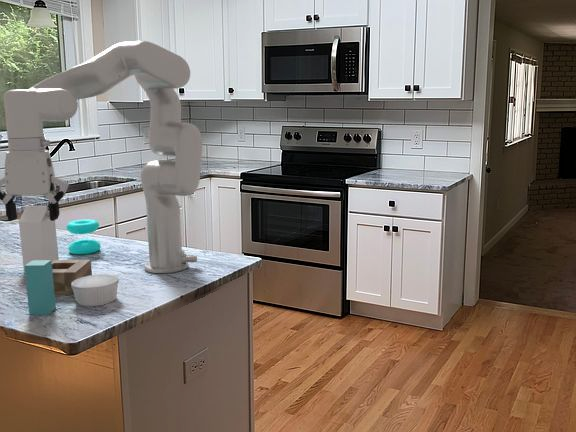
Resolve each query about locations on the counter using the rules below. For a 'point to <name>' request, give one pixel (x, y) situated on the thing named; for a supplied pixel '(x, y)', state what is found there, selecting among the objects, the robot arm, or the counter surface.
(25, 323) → the counter surface
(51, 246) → the milk carton
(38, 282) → the peg
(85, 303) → the ramekin
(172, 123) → the robot arm
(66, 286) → the socket block
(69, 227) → the teal stacked rings
